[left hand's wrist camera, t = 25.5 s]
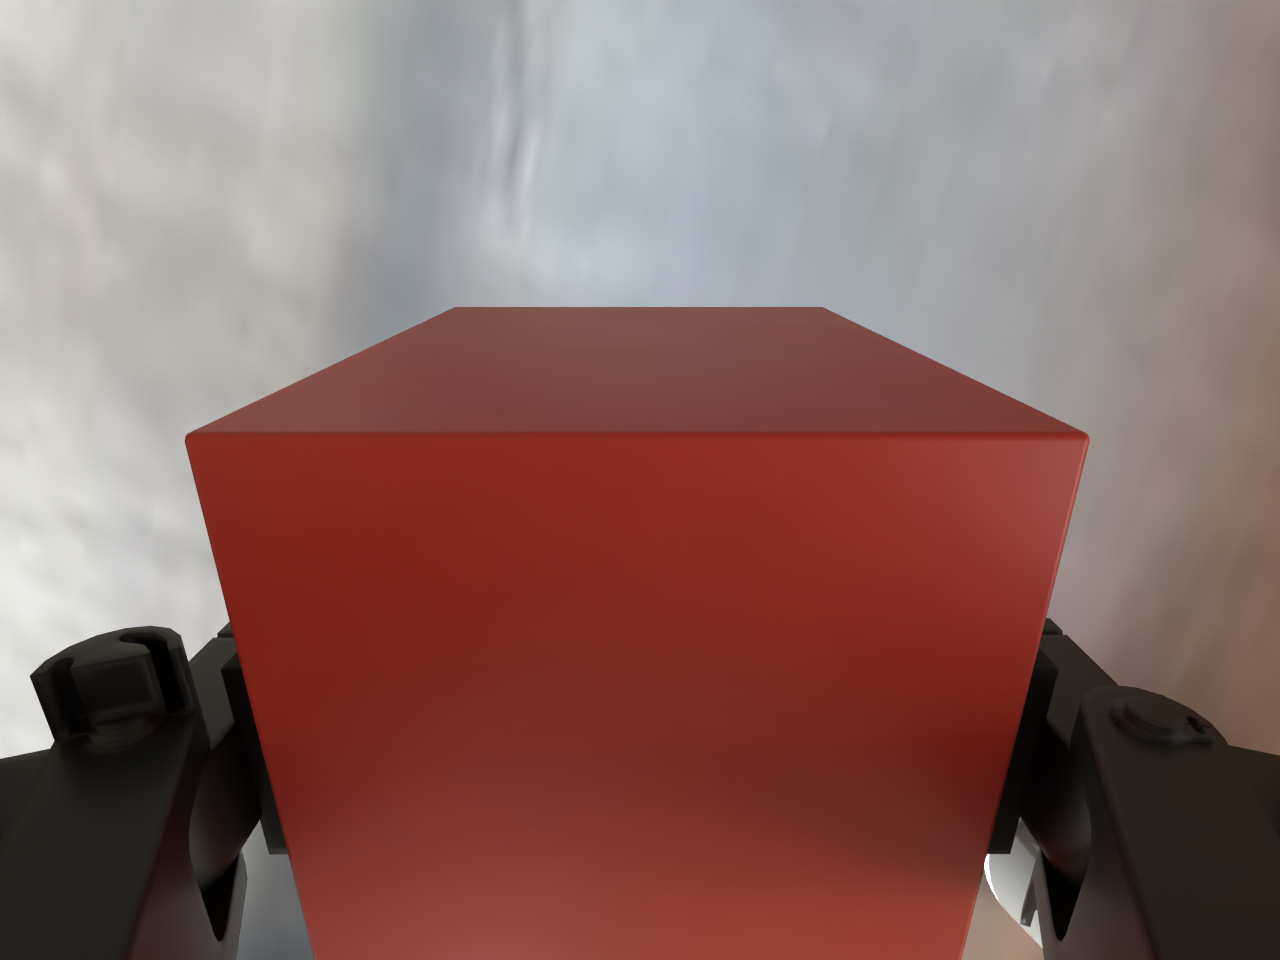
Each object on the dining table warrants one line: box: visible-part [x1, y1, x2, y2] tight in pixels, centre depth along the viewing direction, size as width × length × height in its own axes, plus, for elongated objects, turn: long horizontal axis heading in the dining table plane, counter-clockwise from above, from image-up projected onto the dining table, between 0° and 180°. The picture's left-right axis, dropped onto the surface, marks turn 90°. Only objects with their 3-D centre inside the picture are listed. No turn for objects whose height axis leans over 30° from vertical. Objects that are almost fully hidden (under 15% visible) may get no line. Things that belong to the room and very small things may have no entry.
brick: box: [185, 307, 1089, 960], centre depth 11 cm, size 8×8×9 cm
